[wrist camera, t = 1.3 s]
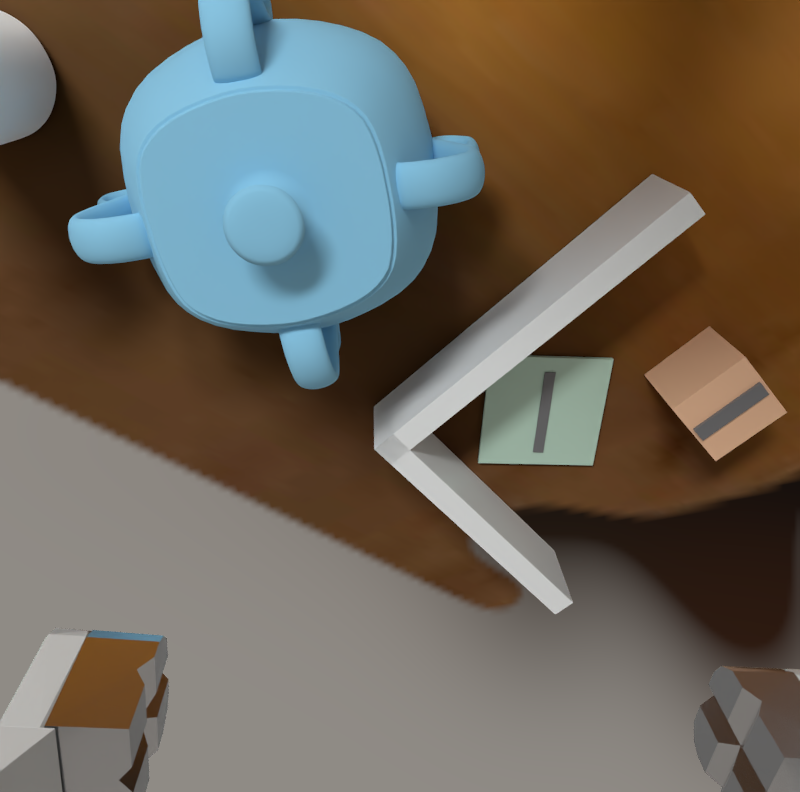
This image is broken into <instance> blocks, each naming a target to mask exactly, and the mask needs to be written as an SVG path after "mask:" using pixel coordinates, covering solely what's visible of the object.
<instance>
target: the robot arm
mask: <svg viewBox="0 0 800 792" xmlns="http://www.w3.org/2000/svg"><path fill="white" fill-rule="evenodd" d="M167 657H168V651H167V638H166V637H164V636H159V635H147V634H135V633H121V632H109V631H97V630H93V631H87V630H75V629H63V628H55V629H54V630H53V631H52V632H51V633H49V634H48V635H47V636H46V638H45V640H44V641H43V643H42V645H41V647H40V649H39V651H38V653H37V654H36V656H35V658H34V660H33V662H32V664H31V665H30V667H29V669H28V671H27V673H26V675H25V676H24V678H23V680H22V682H21V684H20V686H19V687H18V689H17V691H16V693H15V695H14V697H13V699H12V700H11V702H10V704H9V706H8V708H7V710H6V711H5V713H4V715H3V717H2V719H1V720H0V792H146V789H147V785H148V782H149V763H148V761H149V760H148V758H149V757H151V756H152V755H153V754H154V753H155V752H156V751H157V750H158V748H159V744H160V741H161V737H162V734H163V730H164V724H165V719H166V713H167V707H168V694H169V692H168V691H169V689H168V687H169V685H168V679H167V677H166V676H165V675H164V674H163V670H164V666H165V663H166V660H167ZM709 686H710V688H711V690H712V692H713V694H714V696H713V697H711V698H710V699H709V700H708V701H706V702H705V703H704V704H702V705H700V707H699V710H698V713H697V715H696V718H695V721H694V742H695V747H696V751H697V755H698V758H699V760H700V762H701V764H702V766H703V769H704V771H705V773H706V774H707V775H709V776H710V777H711V778H712V779H713V780H714V781H716V782H717V783H718V784H719V785H720V786H721V787H722V789H721V792H800V669H784V670H783V669H777V668H754V667H731V666H721V667H720V668H718V669H717V670H716V671H715V672H714V673H713V676H712V678H711V680H710V683H709Z"/></svg>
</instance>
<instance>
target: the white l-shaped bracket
mask: <svg viewBox="0 0 800 792" xmlns="http://www.w3.org/2000/svg"><path fill="white" fill-rule="evenodd" d="M704 215H705V213H704V211H703V210H702V208H701V207H700V206H699V204H698V203H697V201H696V200H695V198H694V197H693V196H692V194H691V193H690V192H688V191H686V190H684V189H682V188H680V187H678V186H676V185H674V184H672V183H670V182H668V181H666V180H664V179H662V178H660V177H658V176H656V175H653V174H651V175H650V176H649V177H648V178H647V179H645V180H644V181H643V182H642V183H641V184H639V185H638V186H637V187H636V188H635V189H633V190H632V191H631V192H630V193H629V194H627V195H626V196H625V197H624V198H623V199H621V200H620V201H619V202H618V203H617V204H615V205H614V206H613V207H612V208H611V209H609V210H608V211H607V212H606V213H605V214H604V215H602V216H601V217H600V218H599V219H598V220H596V221H595V222H594V223H593V224H592V225H590V226H589V227H588V228H587V229H586V230H584V231H583V232H582V233H581V234H580V235H578V236H577V237H576V238H575V239H574V240H572V241H571V242H570V243H569V244H568V245H566V246H565V247H564V248H563V249H562V250H560V251H559V252H558V253H557V254H556V255H554V256H553V257H552V258H551V259H550V260H549V261H547V262H546V263H545V264H544V265H543V266H541V267H540V268H539V269H538V270H537V271H535V272H534V273H533V274H532V275H531V276H529V277H528V278H527V279H526V280H525V281H523V282H522V283H521V284H520V285H519V286H517V287H516V288H515V289H514V290H513V291H511V292H510V293H509V294H508V295H507V296H505V297H504V298H503V299H502V300H501V301H499V302H498V303H497V304H496V305H495V306H494V307H492V308H491V309H490V310H489V311H488V312H486V313H485V314H484V315H483V316H482V317H480V318H479V319H478V320H477V321H476V322H474V323H473V324H472V325H471V326H470V327H468V328H467V329H466V330H465V331H464V332H462V333H461V334H460V335H459V336H458V337H456V338H455V339H454V340H453V341H452V342H450V343H449V344H448V345H447V346H446V347H444V348H443V349H442V350H441V351H440V352H438V353H437V354H436V355H435V356H434V357H433V358H431V359H430V360H429V361H428V362H427V363H425V364H424V365H423V366H422V367H421V368H419V369H418V370H417V371H416V372H415V373H413V374H412V375H411V376H410V377H409V378H407V379H406V380H405V381H404V382H403V383H401V384H400V385H399V386H398V387H397V388H395V389H394V390H393V391H392V392H391V393H389V394H388V395H387V396H386V397H385V398H383V399H382V400H381V401H380V402H379V403H378V404H376V405H375V406H374V450H376V451H377V452H378V453H379V454H380V455H381V456H382V457H383V458H384V459H385V460H387V461H388V462H389V463H390V464H391V465H392V466H393V467H394V468H395V469H396V470H397V471H399V472H400V473H401V474H402V475H403V476H404V477H405V478H406V479H407V480H408V481H410V482H411V483H412V484H413V485H414V486H415V487H416V488H417V489H418V490H419V491H420V492H422V493H423V494H424V495H425V496H426V497H427V498H428V499H429V500H430V501H431V502H433V503H434V504H435V505H436V506H437V507H438V508H439V509H440V510H441V511H442V512H443V513H445V514H446V515H447V516H448V517H449V518H450V519H451V520H452V521H453V522H454V523H456V524H457V525H458V526H459V527H460V528H461V529H462V530H463V531H464V532H465V533H466V534H468V535H469V536H470V537H471V538H472V539H473V540H474V541H475V542H476V543H478V544H479V545H480V546H481V547H482V548H483V549H484V550H485V551H486V552H487V553H488V554H490V555H491V556H492V557H493V558H494V559H495V560H496V561H497V562H498V563H499V564H500V565H502V566H503V567H504V568H505V569H506V570H507V571H508V572H509V573H510V574H511V575H513V576H514V577H515V578H516V579H517V580H518V581H519V582H520V583H521V584H522V585H523V586H525V587H526V588H527V589H528V590H529V591H530V592H531V593H532V594H533V595H534V596H536V597H537V598H538V599H539V600H540V601H541V602H542V603H543V604H544V605H545V606H547V607H548V608H549V609H550V610H551V611H552V612H553V613H554V614H557V613H558V612H560V611H561V610H563V609H564V608H566V607H567V606H569V605H570V604H572V603H573V601H572V599H571V596H570V593H569V590H568V587H567V585H566V582H565V579H564V576H563V574H562V571H561V568H560V565H559V562H558V560H557V557H556V554H555V551H554V550H553V549H552V548H551V547H550V546H549V545H548V544H547V543H546V542H545V541H544V540H543V539H542V538H541V537H539V536H538V535H537V534H536V533H535V532H534V531H533V530H532V529H531V528H530V527H529V526H528V525H527V524H526V523H525V522H524V521H523V520H522V519H521V518H520V517H519V516H518V515H517V514H516V513H515V512H514V511H513V510H512V509H510V508H509V507H508V506H507V505H506V504H505V503H504V502H503V501H502V500H501V499H500V498H499V497H498V496H497V495H496V494H495V493H494V492H493V491H492V490H491V489H490V488H489V487H488V486H487V485H486V484H485V483H484V482H483V481H481V480H480V479H479V478H478V477H477V476H476V475H475V474H474V473H473V472H472V471H471V470H470V469H469V468H468V467H467V466H466V465H465V464H464V463H463V462H462V461H461V460H460V459H459V458H458V457H457V456H456V455H455V454H453V453H452V452H451V451H450V450H449V449H448V448H447V447H446V446H445V445H444V444H443V443H442V442H441V441H440V440H439V439H438V438H437V437H436V436H435V435H434V434H433V433H432V432H433V431H435V430H436V429H437V428H438V427H440V426H441V425H442V424H443V423H445V422H446V421H447V420H448V419H450V418H451V417H452V416H453V415H455V414H456V413H457V412H458V411H460V410H461V409H462V408H463V407H465V406H466V405H467V404H468V403H470V402H471V401H472V400H473V399H475V398H476V397H477V396H478V395H480V394H481V393H482V392H483V391H485V390H486V392H485V401H484V410H483V419H482V427H481V436H480V445H479V454H478V463H500V464H548V465H593V462H594V457H595V452H596V447H597V442H598V436H599V431H600V426H601V421H602V416H603V411H604V406H605V401H606V396H607V391H608V385H609V380H610V375H611V370H612V365H613V358H604V357H570V356H536V355H530V354H531V353H532V352H533V351H535V350H536V349H537V348H539V347H540V346H541V345H542V344H544V343H545V342H546V341H547V340H549V339H550V338H551V337H552V336H554V335H555V334H556V333H557V332H559V331H560V330H561V329H562V328H564V327H565V326H566V325H567V324H569V323H570V322H571V321H572V320H574V319H575V318H576V317H577V316H579V315H580V314H581V313H582V312H584V311H585V310H586V309H587V308H589V307H590V306H591V305H592V304H594V303H595V302H596V301H597V300H599V299H600V298H601V297H602V296H604V295H605V294H606V293H607V292H609V291H610V290H611V289H612V288H614V287H615V286H616V285H617V284H619V283H620V282H621V281H622V280H624V279H625V278H626V277H627V276H629V275H630V274H631V273H632V272H634V271H635V270H636V269H637V268H639V267H640V266H641V265H642V264H644V263H645V262H646V261H647V260H649V259H650V258H651V257H652V256H654V255H655V254H656V253H657V252H659V251H660V250H661V249H662V248H664V247H665V246H666V245H667V244H669V243H670V242H671V241H673V240H674V239H675V238H676V237H678V236H679V235H680V234H681V233H683V232H684V231H685V230H686V229H688V228H689V227H690V226H691V225H693V224H694V223H695V222H696V221H698V220H699V219H700V218H701V217H703V216H704Z"/></svg>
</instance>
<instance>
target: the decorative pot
mask: <svg viewBox="0 0 800 792" xmlns="http://www.w3.org/2000/svg"><path fill="white" fill-rule="evenodd" d="M198 6H199V15H200V23H201V29H202V35H203V38H201V39H199V40H197V41H195V42H193V43H191V44H189V45H187V46H186V47H184V48H183V49H181V50H180V51H178V52H176V53H175V54H173V55H172V56H170V57H169V58H167V59H166V60H165V61H164V62H162V63H161V64H160V65H159V66H158V67H156V68H155V69H154V70H153V71H151V72H150V73H149V74H148V75H147V76H146V78H145V79H144V80H143V81H142V83H141V84H140V85H139V86H138V87H137V89H136V90H135V92H134V94H133V96H132V98H131V100H130V102H129V104H128V106H127V108H126V110H125V114H124V117H123V121H122V124H121V138H120V152H121V159H122V167H123V174H124V180H125V185H126V189H124V190H120V191H115V192H111V193H108V194H106V195H104V196H102V197H101V198H100V199H99V200H98V202H97V205H96V206H93V207H90V208H88V209H85V210H83V211H81V212H79V213H77V214H75V215H74V216H72V217H71V219H70V220H69V224H68V233H69V239H70V242H71V245H72V247H73V249H74V251H75V252H76V254H77V255H78V256H79V257H80V258H81V259H82V260H84V261H85V262H88V263H93V264H114V263H123V262H130V261H136V260H142V259H148V258H150V260H151V262H152V264H153V266H154V268H155V270H156V272H157V274H158V276H159V277H160V279H161V281H162V283H163V285H164V287H165V289H166V290H167V292H168V293H169V294H170V295H171V297H172V298H173V299H174V300H175V301H176V303H177V304H178V305H180V306H181V307H182V308H183V309H184V310H186V311H187V312H188V313H190V314H192V315H193V316H195V317H197V318H198V319H200V320H202V321H205V322H208V323H210V324H213V325H215V326H220V327H224V328H229V329H233V330H241V331H250V332H265V333H279V336H280V339H281V343H282V347H283V350H284V354H285V357H286V360H287V363H288V366H289V368H290V371H291V373H292V375H293V377H294V379H295V381H296V382H297V384H298V385H299V386H301V387H303V388H306V389H320V388H324V387H326V386H329V385H331V384H333V383H334V382H335V381H336V380H337V379H338V377H339V369H340V368H339V349H340V346H341V336H340V327H339V323H341V322H344V321H348V320H350V319H352V318H355V317H357V316H359V315H361V314H364V313H366V312H368V311H370V310H372V309H374V308H376V307H378V306H380V305H382V304H383V303H385V302H386V301H388V300H389V299H391V298H393V297H394V296H396V295H397V294H399V293H400V292H401V291H403V290H404V289H405V288H406V287H407V286H408V285H409V284H410V283H411V282H412V281H413V280H414V279H415V278H416V276H417V275H418V274H419V272H420V271H421V270H422V268H423V266H424V265H425V263H426V261H427V259H428V256H429V254H430V252H431V250H432V246H433V242H434V239H435V235H436V230H437V214H438V207H439V206H445V205H450V204H454V203H459V202H462V201H466V200H469V199H471V198H473V197H475V196H476V195H478V194H479V193H480V191H481V189H482V187H483V184H484V178H485V168H484V162H483V159H482V156H481V154H480V152H479V147H478V144H477V143H476V141H475V140H474V139H473V138H471V137H468V136H456V135H447V136H437V137H433V138H432V135H431V132H430V128H429V124H428V121H427V117H426V113H425V110H424V106H423V103H422V101H421V98H420V95H419V92H418V89H417V86H416V83H415V81H414V80H413V78H412V76H411V74H410V73H409V71H408V69H407V67H406V66H405V64H404V63H403V62H402V61H401V60H400V59H399V57H398V56H397V55H396V54H395V53H394V52H393V51H392V50H391V49H390V48H388V47H387V46H386V45H385V44H383V43H382V42H381V41H379V40H377V39H375V38H373V37H372V36H370V35H368V34H366V33H364V32H361V31H358V30H355V29H352V28H349V27H345V26H342V25H337V24H332V23H327V22H322V21H315V20H304V19H273V15H272V7H271V2H270V0H198Z"/></svg>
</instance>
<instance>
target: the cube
mask: <svg viewBox="0 0 800 792" xmlns="http://www.w3.org/2000/svg"><path fill="white" fill-rule="evenodd" d="M645 377H646V378H647V379H648V380H649V382H650V383H651V384H652V385H653V386H654V388H655V389H656V390H657V391H658V393H659V394H660V395H661V396H662V397H663V399H664V400H665V401H666V402H667V404H668V405H669V406H670V407H671V409H672V410H673V411H674V412H675V413H676V415H677V416H678V417H679V418H680V419H681V421H682V422H683V423H684V424H685V425H686V427H687V428H688V429H689V430H690V431H691V432H692V434H693V435H694V436H695V437H696V438H697V440H698V441H699V442H700V443H701V444H702V446H703V447H704V448H705V449H706V450H707V452H708V453H709V454H710V455H711V456H712V458H713V459H714V460H715V461H717V460H718V459H720V458H721V457H723V456H724V455H726V454H727V453H729V452H730V451H732V450H733V449H734V448H736V447H737V446H739V445H740V444H742V443H743V442H745V441H746V440H748V439H749V438H750V437H752V436H753V435H755V434H756V433H758V432H759V431H761V430H762V429H764V428H765V427H766V426H768V425H769V424H771V423H772V422H774V421H775V420H777V419H778V418H780V417H781V416H782V415H784V414H785V413H787V412H786V410H785V409H784V408H783V406H782V405H781V404H780V402H779V401H778V400H777V398H776V397H775V396H774V394H773V393H772V392H771V390H770V389H769V388H768V386H767V385H766V384H765V382H764V381H763V380H762V378H761V377H760V376H759V374H758V373H757V372H756V370H755V369H754V368H753V366H752V365H751V364H750V362H749V361H748V360H747V358H746V357H745V356H744V355H743V354H742V353H740V352H739V351H738V350H737V349H736V348H734V347H733V346H732V345H731V344H730V343H729V342H727V341H726V340H725V339H724V338H723V337H722V336H720V335H719V334H718V333H717V332H716V331H714V330H713V329H712V328H711V327H710V326H709V327H707V328H706V329H705V330H703V331H702V332H701V333H699V334H698V335H697V336H695V337H694V338H693V339H691V340H690V341H689V342H687V343H686V344H685V345H683V346H682V347H681V348H679V349H678V350H677V351H675V352H674V353H673V354H671V355H670V356H669V357H667V358H666V359H665V360H663V361H662V362H661V363H659V364H658V365H657V366H655V367H654V368H653V369H651V370H650V371H649V372H647V373H646V374H645Z"/></svg>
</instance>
